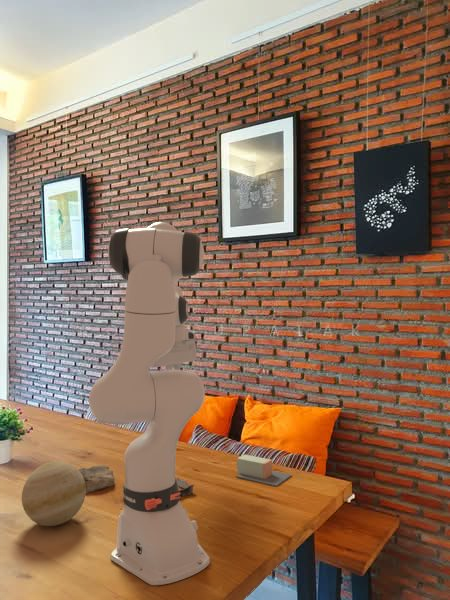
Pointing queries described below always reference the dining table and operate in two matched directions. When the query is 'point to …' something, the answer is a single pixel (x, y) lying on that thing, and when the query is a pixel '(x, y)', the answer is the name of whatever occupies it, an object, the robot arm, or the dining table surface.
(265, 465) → the block
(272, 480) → the mat
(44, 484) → the decorative ball
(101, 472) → the grey rock
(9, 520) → the dining table surface
